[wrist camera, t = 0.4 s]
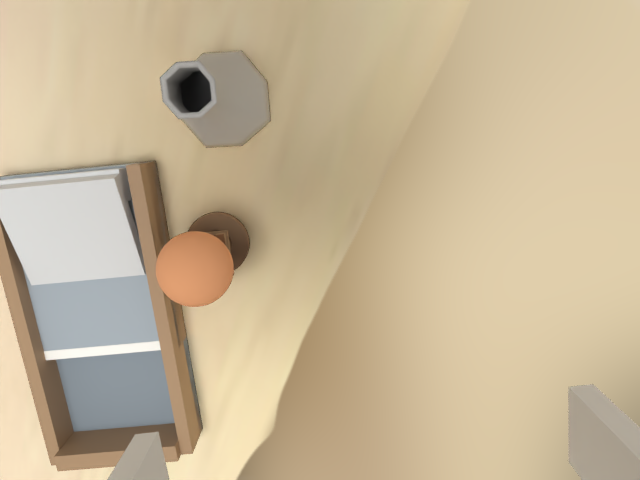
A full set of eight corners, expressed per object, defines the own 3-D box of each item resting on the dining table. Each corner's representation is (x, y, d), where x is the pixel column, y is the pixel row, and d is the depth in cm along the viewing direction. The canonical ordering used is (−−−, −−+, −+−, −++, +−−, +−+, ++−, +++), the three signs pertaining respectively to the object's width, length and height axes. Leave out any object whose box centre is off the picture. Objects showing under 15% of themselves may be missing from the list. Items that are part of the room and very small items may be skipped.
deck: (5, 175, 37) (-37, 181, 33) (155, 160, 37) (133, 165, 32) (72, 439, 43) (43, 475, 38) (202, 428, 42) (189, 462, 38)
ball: (164, 227, 33) (136, 244, 28) (234, 221, 33) (219, 237, 28) (175, 294, 34) (151, 322, 29) (243, 288, 34) (231, 315, 29)
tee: (183, 215, 38) (162, 228, 33) (245, 209, 38) (233, 221, 33) (193, 273, 39) (174, 295, 34) (253, 268, 39) (243, 289, 34)
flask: (286, 127, 36) (273, 127, 26) (201, 162, 37) (158, 174, 27) (248, 34, 35) (220, -3, 25) (160, 72, 35) (100, 51, 26)
